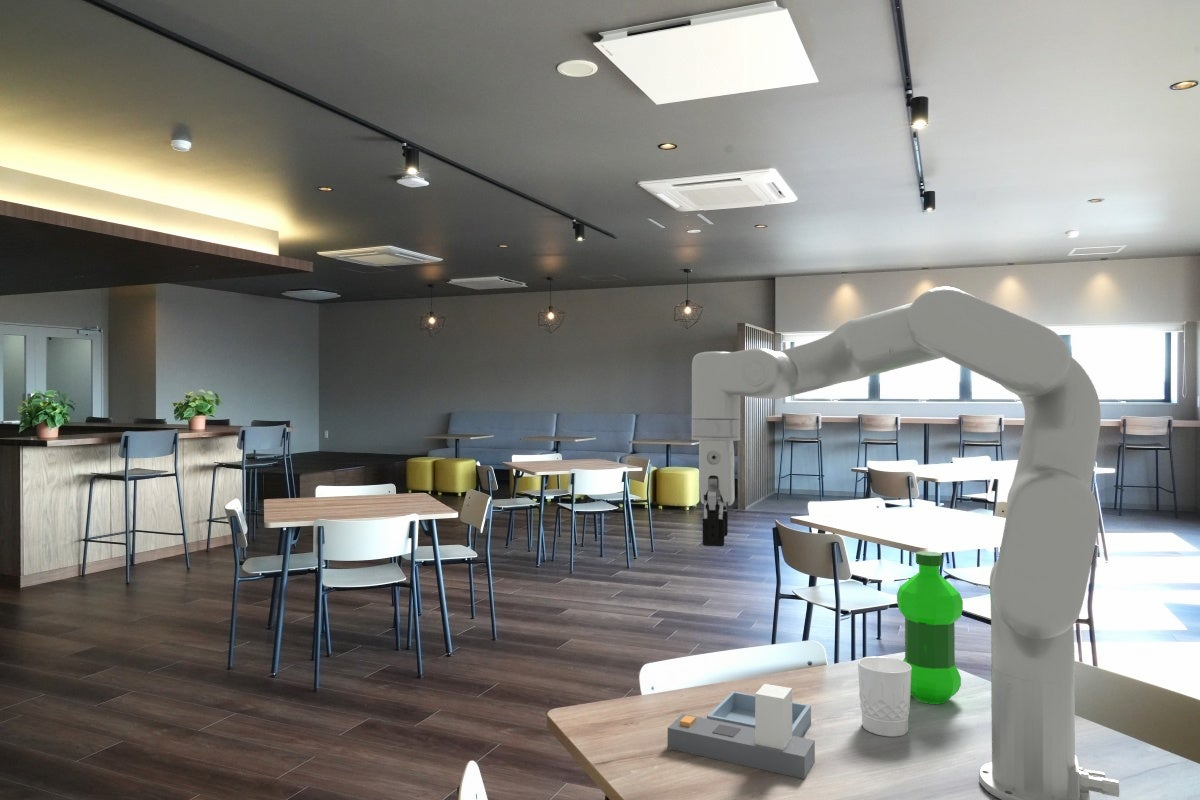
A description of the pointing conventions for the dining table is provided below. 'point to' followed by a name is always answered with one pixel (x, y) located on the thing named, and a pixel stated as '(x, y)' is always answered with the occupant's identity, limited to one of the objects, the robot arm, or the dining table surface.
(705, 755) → the strip
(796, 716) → the tray
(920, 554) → the plastic bottle
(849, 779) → the dining table surface
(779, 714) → the block
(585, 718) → the dining table surface
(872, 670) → the white cup
